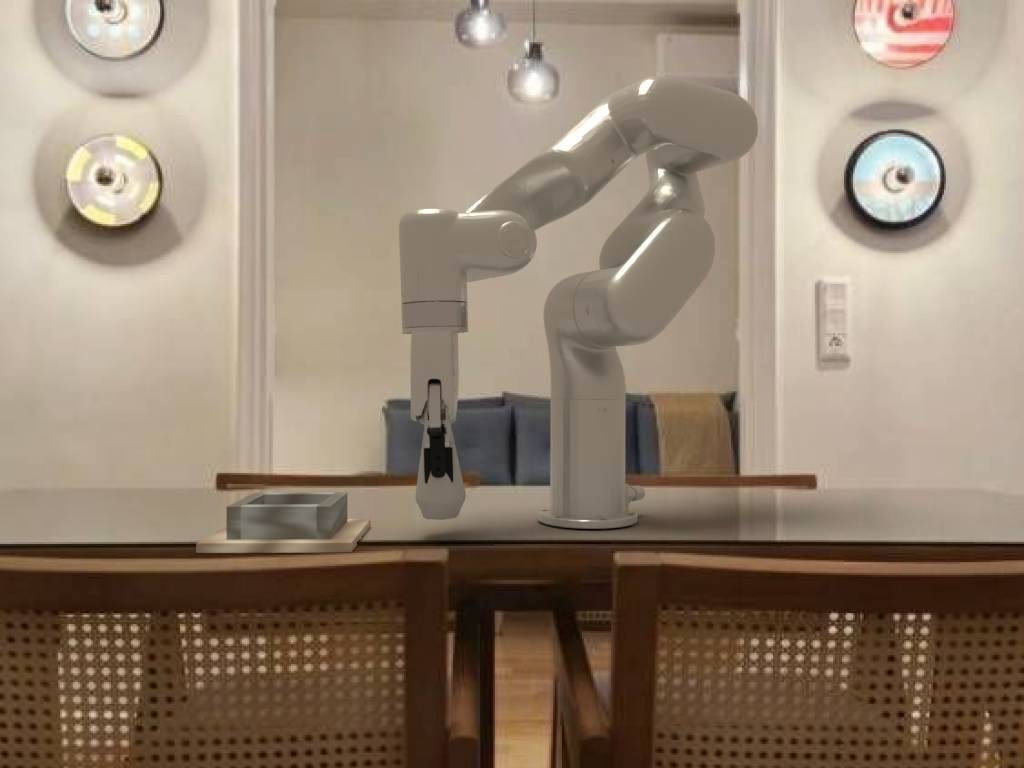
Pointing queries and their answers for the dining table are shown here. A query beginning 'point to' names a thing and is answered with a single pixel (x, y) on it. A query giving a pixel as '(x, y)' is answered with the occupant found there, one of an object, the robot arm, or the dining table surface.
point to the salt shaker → (440, 486)
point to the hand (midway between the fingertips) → (440, 479)
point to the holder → (287, 525)
